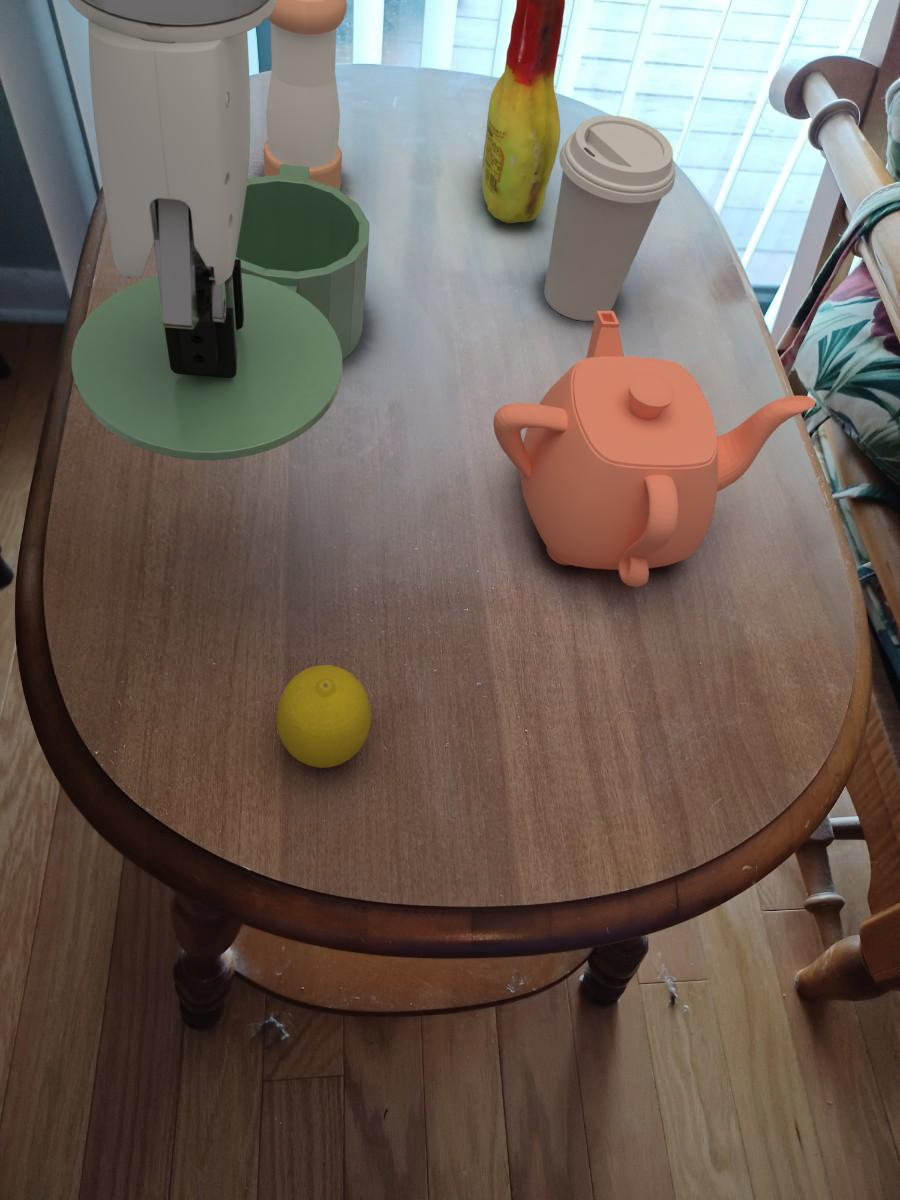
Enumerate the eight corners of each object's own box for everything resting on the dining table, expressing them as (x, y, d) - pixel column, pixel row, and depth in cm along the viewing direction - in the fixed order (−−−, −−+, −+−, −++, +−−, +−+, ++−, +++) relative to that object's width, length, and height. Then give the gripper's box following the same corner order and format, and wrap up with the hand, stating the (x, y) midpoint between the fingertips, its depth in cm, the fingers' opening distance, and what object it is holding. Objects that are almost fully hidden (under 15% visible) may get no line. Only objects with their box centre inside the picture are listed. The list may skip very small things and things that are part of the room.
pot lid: (50, 459, 45) (19, 360, 40) (101, 276, 53) (80, 174, 48) (336, 478, 47) (340, 385, 42) (346, 298, 55) (351, 201, 50)
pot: (198, 391, 75) (186, 292, 67) (223, 248, 85) (216, 148, 77) (358, 404, 76) (365, 309, 68) (365, 262, 86) (371, 165, 79)
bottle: (468, 163, 97) (502, -56, 81) (528, 167, 98) (574, -48, 82) (481, 235, 91) (522, 14, 74) (546, 239, 92) (600, 21, 75)
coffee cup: (517, 264, 89) (552, 107, 77) (613, 264, 91) (662, 111, 79) (541, 333, 84) (582, 177, 72) (641, 331, 86) (699, 179, 74)
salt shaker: (253, 168, 92) (243, -53, 76) (322, 157, 95) (327, -60, 79) (282, 212, 89) (279, -9, 73) (353, 199, 91) (364, -18, 76)
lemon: (264, 725, 60) (260, 661, 53) (345, 694, 62) (351, 629, 55) (298, 801, 57) (298, 744, 51) (381, 767, 59) (392, 707, 53)
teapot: (568, 407, 79) (613, 272, 68) (746, 514, 75) (824, 389, 64) (457, 520, 71) (487, 387, 60) (649, 647, 67) (720, 530, 56)
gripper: (99, -159, 38) (156, 242, 53) (1, 51, 29) (105, 462, 44) (290, -131, 39) (293, 255, 54) (255, 80, 30) (270, 473, 45)
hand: (208, 345), depth 49 cm, fingers closed on pot lid, 2 cm apart
